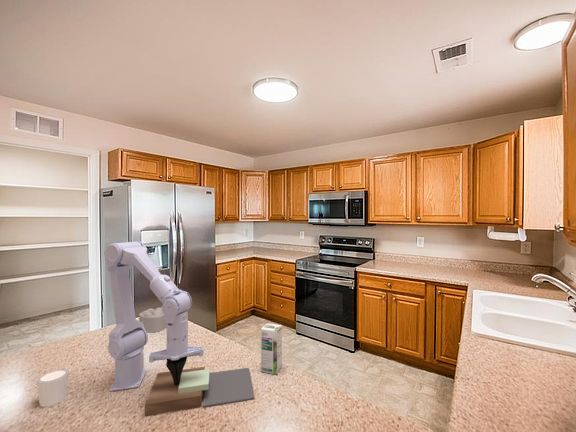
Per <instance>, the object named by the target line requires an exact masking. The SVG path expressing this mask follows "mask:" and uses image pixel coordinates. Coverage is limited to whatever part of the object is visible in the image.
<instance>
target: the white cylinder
mask: <svg viewBox="0 0 576 432" xmlns="http://www.w3.org/2000/svg"><path fill="white" fill-rule="evenodd" d="M69 374H70V371H69V370H68V369H66V368H63V369H55V370H51V371H49V372H46V373H44V374H42V375H41V376H39V377H38V378H37V380H36V384H37V393H38V395H37V396H38V402H39V407H41V408H47V407H53V406H55V405H57V404H60V403H61V402H63V401H64V400H65V399H66V397H67V390H68V384H69V383H68V381H69Z"/></svg>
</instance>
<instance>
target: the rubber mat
mask: <svg viewBox="0 0 576 432" xmlns="http://www.w3.org/2000/svg"><path fill="white" fill-rule="evenodd" d="M254 392H255V391H254V387H253V381H252V376H251V371H250V367H243V368H237V369H228V370H222V371H214V372H210V376H209V389H208V390H203V400H202V408H203V409H204V408H210V407H216V406H222V405H223V406H224V405H227V404H234V403H240V402H246V401H252V400H255V399H256V398H255V393H254Z"/></svg>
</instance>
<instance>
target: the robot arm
mask: <svg viewBox="0 0 576 432" xmlns="http://www.w3.org/2000/svg"><path fill="white" fill-rule="evenodd" d="M104 259H105V266H106V271H107V272H108V278H109V286H110V290H111V296H112V303H113V311H114V317H115V323H116V325H115V327H114V328H113V329H112V330H111V332H109V334H108V345H107V350H108V353H109V355H110V357H112V359H114V382H113V384H111V387H110V388H109V391H110V392H113V391H114V392H115V391H123V390H129V389H134V388H136V389H137V388H139V387H140V385H141V384H142V381H143V380H144V377H145V376H146V373H147V371H148V370H147V369H144V367H145V366H144V363H145V361H144V359H145V357H144V356H145V355H144V347H145V346H146V345H147V343H148V339H149V337H148V336H149V335H148V333H147V332H146V330H145V328H144V324H143V323H142V322H140V321H139V319H138V320H137V318H136V317H137V316H136V312H135V311H136V310H135V305H134V300H133V294H132V288H131V280H130V274H129V272H130V270H131V269H132V268H133V267H134V266H135V267H136V269H138V271H139V272H140V273H141V274H142V275H143V276H144V277H145V278H146V279H148V281H149V282H150V283H149V289H150V290H151V292H153V293H152V294H154V295H155V297H156V298H157V299H158V300H159V302H160V303H161V304H162V305H161V308H162V311H163V313H164V315H165V321H166V323H167V328H166V349H162V350H157V351H153V352H150V354H149V356H148V362H149V363H154V362H155V361H156V362H157V361H165V360H166V364H165V366H166V368H167V369H168V372H169V371H170V373H171V375H172V378H173V381H174V385H179V384H180V377H181V373H182V370H184V367H185V365H186V363H187V359H188V358H189V357H196V356H197V357H204V354H205V353H204V351H205V350H204V349H205V348H204V347H205V346H188V343H189V338H188V336H189V335H188V333H189V329H188V326H189V325H188V323H189V318H188V317H189V315H188V312H189V311H188V310H190V309H191V308H192V305H193V299H192V296H191V295H190V293H189V292H187V291H185V290H182V289H179V288H178V287H177V285H176V284H175V283H174V281H173V280H172V279H171V277H170V276H169V275H167V274H161V272H160V270H158V268H157V266H156V265H155V263H154V262H153V260H152V259H151V258H150V257H149V255H148V248H147V247H146V245H145V244H144V243H143V241H140V240H135V241H125V242H111V243H110V244H108V246H107V247H106V249H105V251H104Z"/></svg>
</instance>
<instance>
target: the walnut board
mask: <svg viewBox="0 0 576 432" xmlns="http://www.w3.org/2000/svg"><path fill="white" fill-rule="evenodd" d="M198 370H205V366H201V367H195V368H194V367H191V368H185V369H184V368H183V370H182V373H183V372H190V371H198ZM182 373H181V376H182ZM180 380H181V377H180ZM178 388H179V385H174V381H173V378H172V375H171V373H170V371H169V370H168V371H161V372H157V373H156V376H155V379H154V381H153V384H152V386H151V389H150V391H149V393H148V396H147V397H146V400H145V403H144V417H149V416H154V415H160V414H166V413H173V412H179V411H184V410H191V409H196V408H201V407H202V405H203V395H204V390H201V391H194V392H188V393H181V394H178Z"/></svg>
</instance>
